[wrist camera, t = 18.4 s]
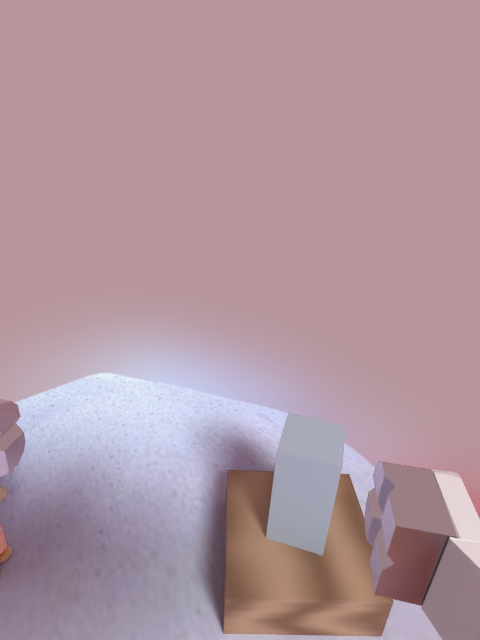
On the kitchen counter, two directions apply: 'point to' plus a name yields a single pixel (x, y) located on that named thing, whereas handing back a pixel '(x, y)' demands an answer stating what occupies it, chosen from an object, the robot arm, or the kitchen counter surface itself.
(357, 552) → the walnut block
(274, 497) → the slate pillar block
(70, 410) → the kitchen counter surface
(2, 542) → the grandmother figurine
